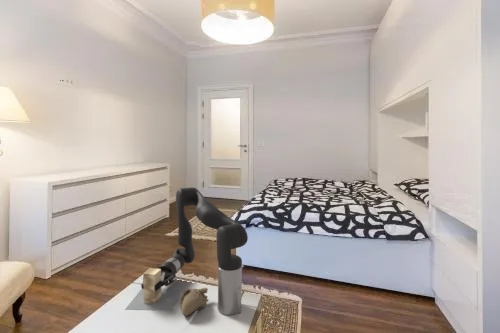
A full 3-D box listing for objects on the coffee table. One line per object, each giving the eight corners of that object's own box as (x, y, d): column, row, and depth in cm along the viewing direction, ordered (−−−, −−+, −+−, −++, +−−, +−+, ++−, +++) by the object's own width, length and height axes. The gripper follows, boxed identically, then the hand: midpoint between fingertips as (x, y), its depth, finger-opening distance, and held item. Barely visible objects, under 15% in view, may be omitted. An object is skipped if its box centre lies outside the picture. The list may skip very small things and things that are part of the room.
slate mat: (182, 289, 117) (182, 288, 117) (171, 311, 101) (171, 310, 101) (142, 289, 117) (142, 288, 117) (124, 310, 101) (124, 309, 101)
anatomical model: (199, 298, 95) (212, 283, 110) (171, 297, 97) (188, 282, 112) (199, 319, 95) (213, 301, 109) (172, 318, 97) (189, 300, 112)
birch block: (161, 297, 110) (161, 269, 109) (154, 303, 105) (154, 274, 104) (150, 295, 111) (150, 268, 110) (143, 302, 106) (143, 273, 105)
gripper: (154, 259, 123) (132, 276, 106) (183, 262, 120) (165, 280, 104) (155, 275, 123) (132, 294, 107) (183, 278, 121) (165, 298, 104)
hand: (148, 287), depth 105 cm, fingers closed on birch block, 5 cm apart
